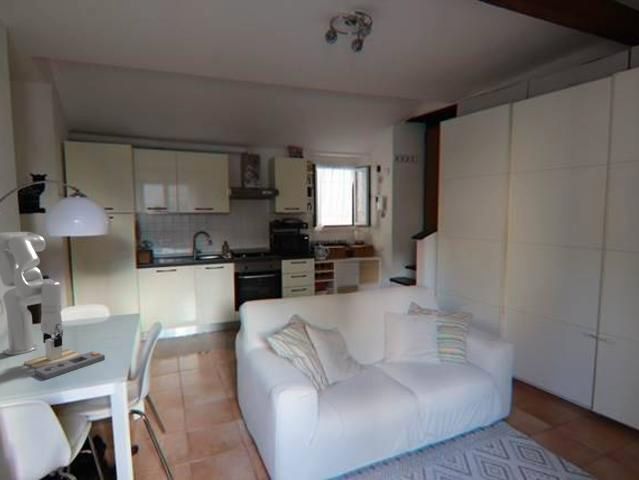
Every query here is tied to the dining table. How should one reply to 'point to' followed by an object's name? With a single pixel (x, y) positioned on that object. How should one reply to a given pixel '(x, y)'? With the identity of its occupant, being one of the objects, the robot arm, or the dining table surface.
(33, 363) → the wooden board
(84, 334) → the dining table surface
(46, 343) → the block
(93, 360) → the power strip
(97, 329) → the dining table surface
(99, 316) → the dining table surface
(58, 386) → the dining table surface
